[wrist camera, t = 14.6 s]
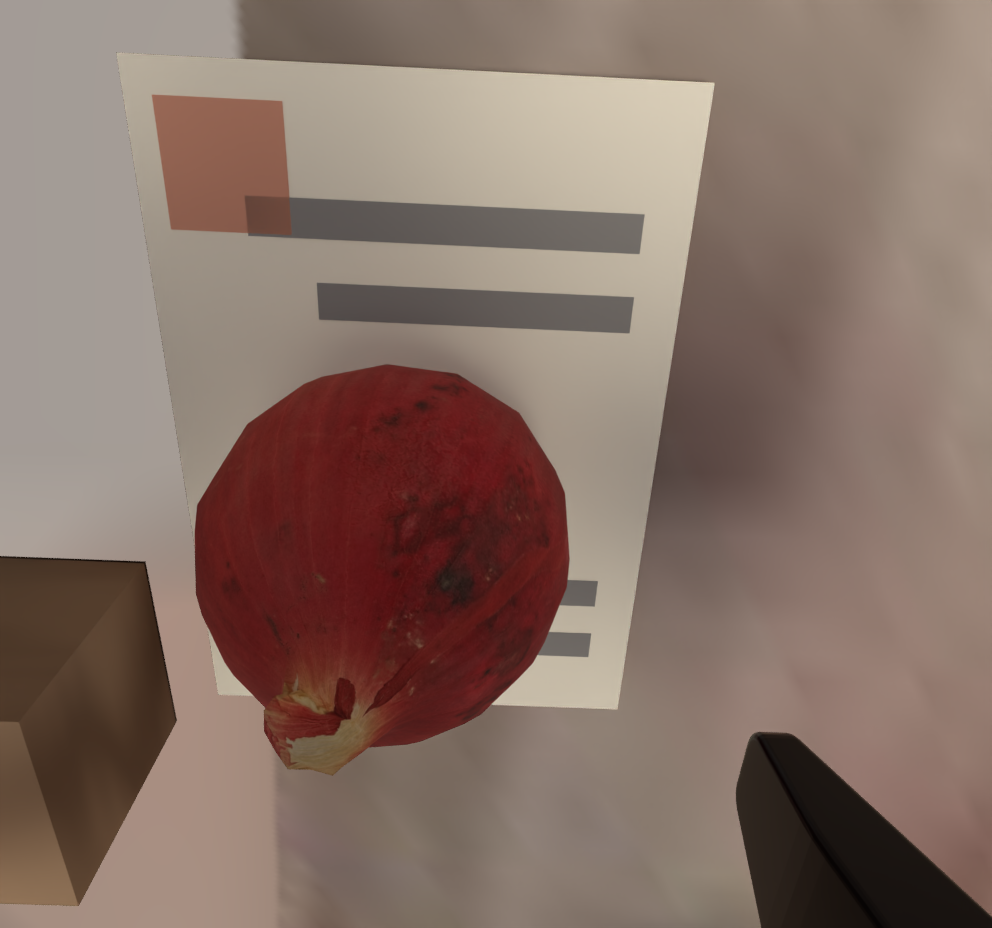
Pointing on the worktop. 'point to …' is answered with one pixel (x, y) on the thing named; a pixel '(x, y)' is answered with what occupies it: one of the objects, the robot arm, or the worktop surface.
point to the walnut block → (74, 717)
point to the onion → (380, 559)
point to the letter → (432, 275)
